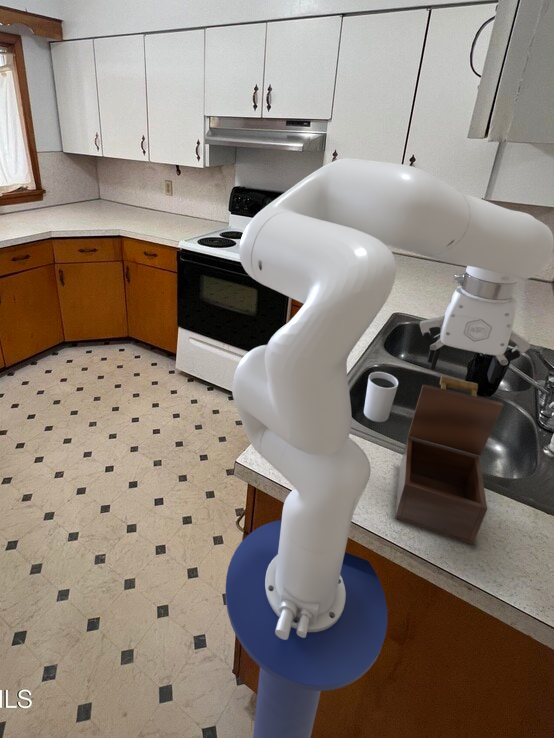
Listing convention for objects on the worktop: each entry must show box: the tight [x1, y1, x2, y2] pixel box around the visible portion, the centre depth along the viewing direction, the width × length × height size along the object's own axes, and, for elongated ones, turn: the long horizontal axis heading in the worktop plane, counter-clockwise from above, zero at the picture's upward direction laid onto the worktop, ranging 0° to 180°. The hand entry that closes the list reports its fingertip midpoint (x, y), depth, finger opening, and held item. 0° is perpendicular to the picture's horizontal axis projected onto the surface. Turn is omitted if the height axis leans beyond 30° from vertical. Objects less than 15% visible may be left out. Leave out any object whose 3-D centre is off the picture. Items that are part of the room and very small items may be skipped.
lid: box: [407, 375, 504, 456], centre depth 79 cm, size 13×13×6 cm
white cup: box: [363, 371, 399, 423], centre depth 101 cm, size 7×7×10 cm
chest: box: [394, 436, 488, 545], centre depth 78 cm, size 13×13×9 cm
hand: (460, 372), depth 78 cm, fingers open, 9 cm apart
